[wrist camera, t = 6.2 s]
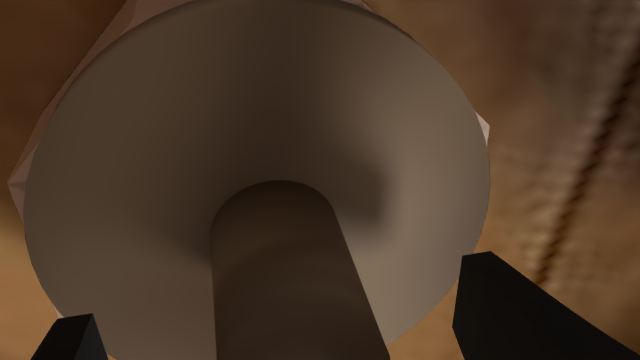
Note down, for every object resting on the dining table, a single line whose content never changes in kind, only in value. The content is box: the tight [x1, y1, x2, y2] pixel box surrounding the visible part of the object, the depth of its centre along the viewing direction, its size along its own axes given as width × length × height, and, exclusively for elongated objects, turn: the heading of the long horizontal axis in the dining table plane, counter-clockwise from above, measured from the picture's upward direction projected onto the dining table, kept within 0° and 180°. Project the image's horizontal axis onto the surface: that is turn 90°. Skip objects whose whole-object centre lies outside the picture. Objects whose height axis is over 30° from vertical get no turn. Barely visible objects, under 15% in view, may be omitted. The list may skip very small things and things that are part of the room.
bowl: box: [7, 0, 490, 318], centre depth 15 cm, size 11×11×4 cm
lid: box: [23, 0, 490, 360], centre depth 11 cm, size 10×10×5 cm
